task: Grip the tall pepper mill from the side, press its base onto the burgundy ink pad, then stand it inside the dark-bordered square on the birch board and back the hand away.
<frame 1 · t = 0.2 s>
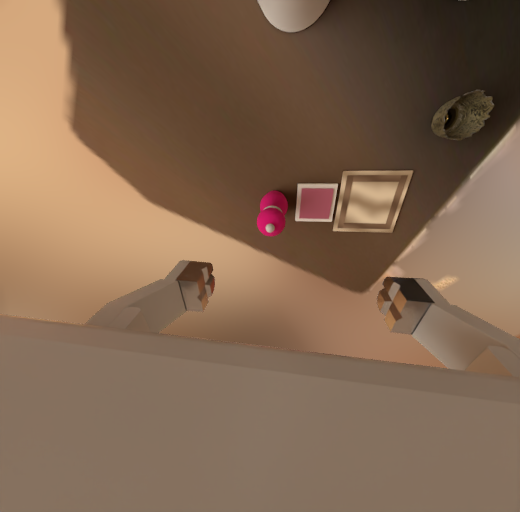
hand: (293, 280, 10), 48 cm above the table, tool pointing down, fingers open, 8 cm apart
pepper mill: (274, 201, 56), on the table
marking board: (368, 202, 53), on the table
ink pad: (314, 202, 54), on the table
cup: (438, 120, 43), on the table
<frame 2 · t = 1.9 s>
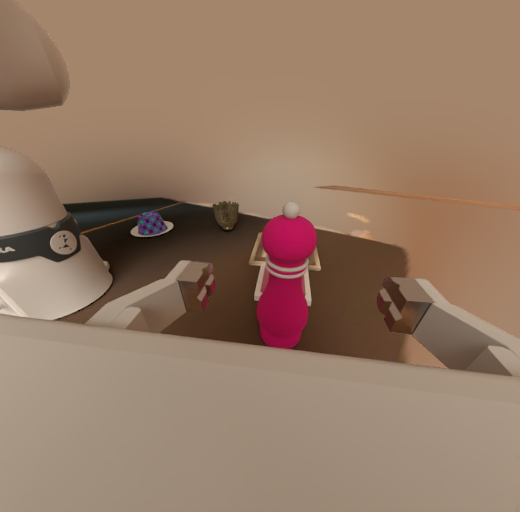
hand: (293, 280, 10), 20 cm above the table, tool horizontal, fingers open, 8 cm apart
pepper mill: (280, 332, 30), on the table
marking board: (285, 249, 51), on the table
ink pad: (282, 285, 40), on the table
cup: (227, 230, 62), on the table
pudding: (153, 231, 62), on the table
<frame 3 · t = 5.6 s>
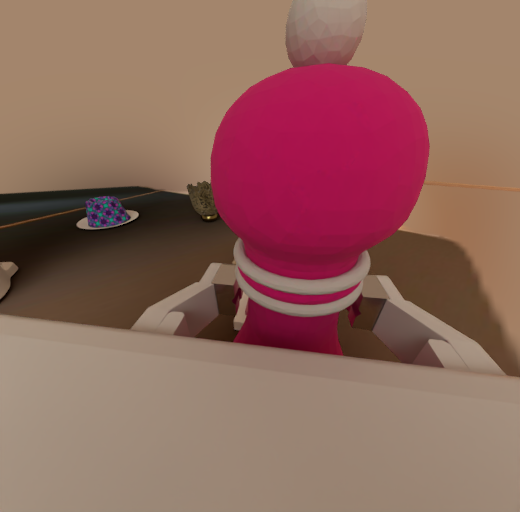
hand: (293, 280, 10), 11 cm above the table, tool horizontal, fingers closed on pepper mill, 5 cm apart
pepper mill: (280, 406, 15), on the table, touching gripper
ink pad: (284, 299, 24), on the table
cup: (210, 220, 46), on the table
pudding: (111, 222, 46), on the table
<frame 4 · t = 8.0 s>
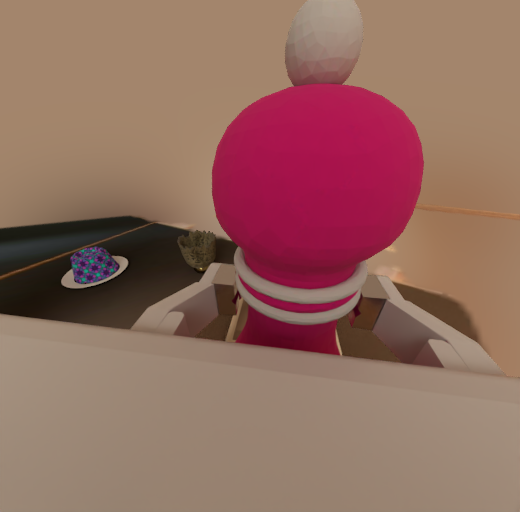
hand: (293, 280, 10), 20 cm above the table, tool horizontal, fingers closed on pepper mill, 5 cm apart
pepper mill: (279, 409, 15), point 8 cm above the table, touching gripper
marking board: (282, 310, 34), on the table
cup: (203, 270, 44), on the table
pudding: (98, 273, 44), on the table
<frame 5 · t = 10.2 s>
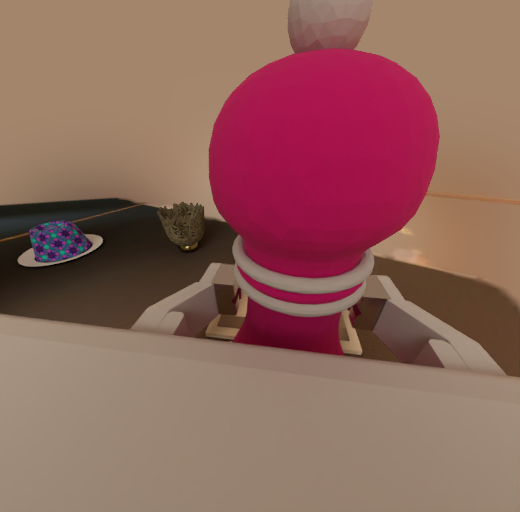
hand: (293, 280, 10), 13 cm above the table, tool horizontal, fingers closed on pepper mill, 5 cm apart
pepper mill: (279, 408, 14), point 2 cm above the table, touching gripper, ink pad
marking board: (282, 293, 27), on the table
cup: (189, 249, 38), on the table
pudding: (66, 252, 37), on the table
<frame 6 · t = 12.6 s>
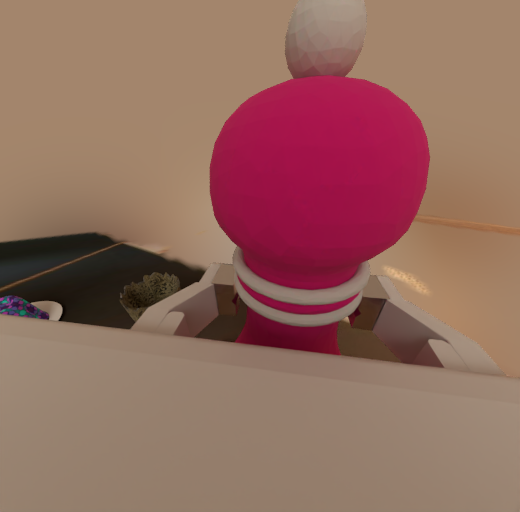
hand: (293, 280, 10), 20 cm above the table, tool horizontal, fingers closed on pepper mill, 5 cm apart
pepper mill: (279, 411, 15), point 8 cm above the table, touching gripper
cup: (165, 326, 31), on the table
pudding: (15, 333, 31), on the table
when the fingers open (13 cm above the table, at t = 15.0 s): pepper mill stays where it is, resting on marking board.
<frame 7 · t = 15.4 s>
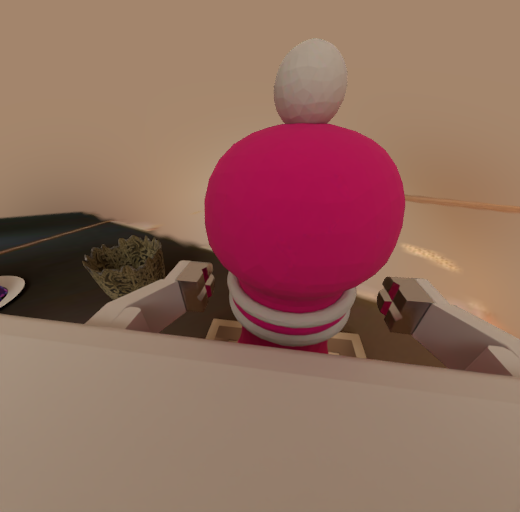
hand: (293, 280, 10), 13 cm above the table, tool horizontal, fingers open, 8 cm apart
pepper mill: (274, 416, 15), resting on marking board
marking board: (279, 414, 16), on the table
cup: (146, 303, 26), on the table
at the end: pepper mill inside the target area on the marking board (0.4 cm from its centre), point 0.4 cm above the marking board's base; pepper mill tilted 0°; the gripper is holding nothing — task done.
